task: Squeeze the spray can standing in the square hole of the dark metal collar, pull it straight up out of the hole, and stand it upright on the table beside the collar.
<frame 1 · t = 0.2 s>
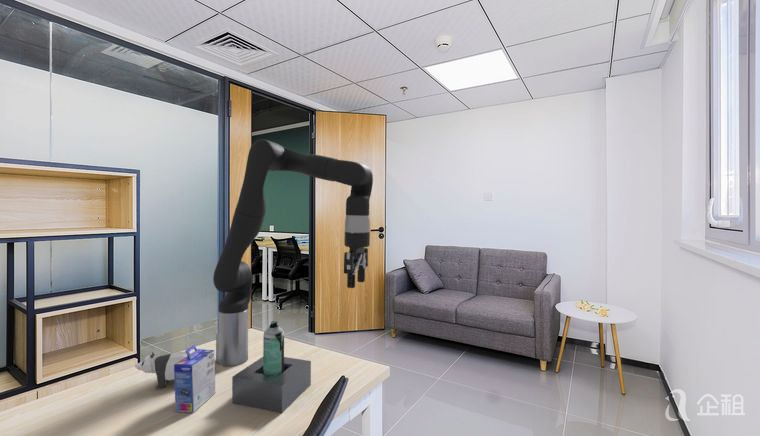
hand: (356, 284, 103), 29 cm above the table, tool pointing down, fingers open, 8 cm apart
spray can: (273, 394, 96), resting in square collar
giant panda: (168, 384, 100), on the table
ink cartridge box: (195, 402, 91), on the table
square collar: (273, 393, 96), on the table
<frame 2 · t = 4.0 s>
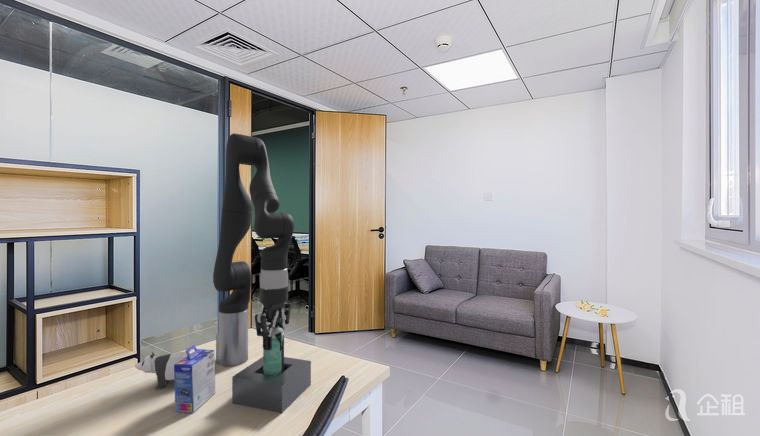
hand: (273, 345, 96), 13 cm above the table, tool pointing down, fingers closed on spray can, 5 cm apart
spray can: (273, 394, 96), resting in square collar, touching gripper
everything else where it was.
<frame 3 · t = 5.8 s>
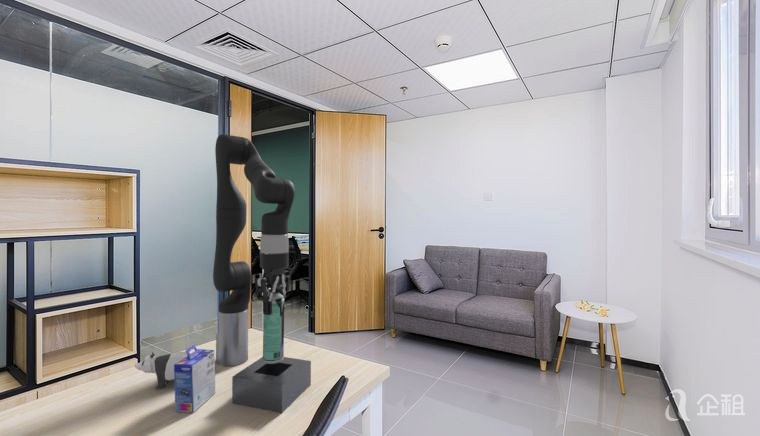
hand: (273, 311, 95), 23 cm above the table, tool pointing down, fingers closed on spray can, 5 cm apart
spray can: (273, 360, 96), point 9 cm above the table, touching gripper
everything else where it was.
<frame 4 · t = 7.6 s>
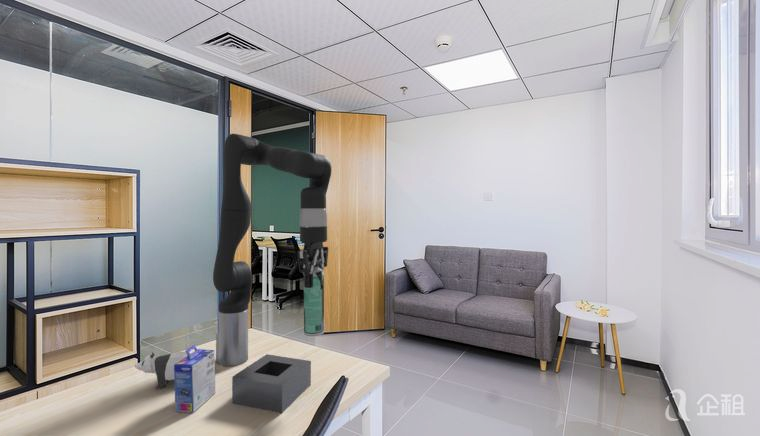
hand: (313, 285, 96), 30 cm above the table, tool pointing down, fingers closed on spray can, 5 cm apart
spray can: (314, 333, 97), point 16 cm above the table, touching gripper
everything else where it was.
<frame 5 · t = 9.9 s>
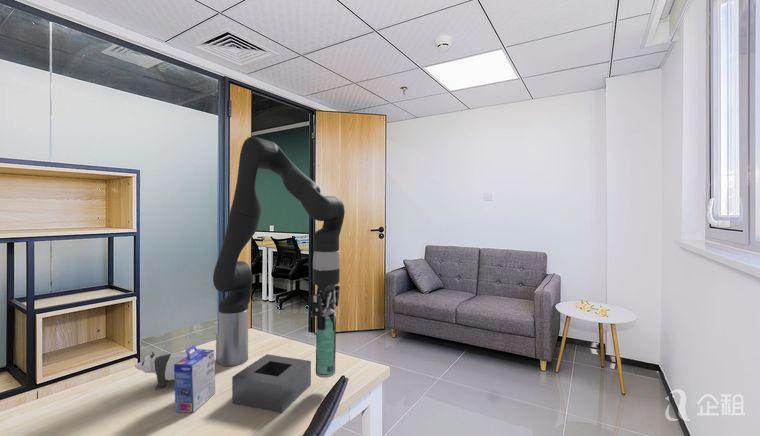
hand: (325, 326, 98), 18 cm above the table, tool pointing down, fingers closed on spray can, 5 cm apart
spray can: (325, 373, 98), point 5 cm above the table, touching gripper
everything else where it was.
when the fingers open (14 cm above the table, at t = 11.7 s): spray can stays where it is, on the table.
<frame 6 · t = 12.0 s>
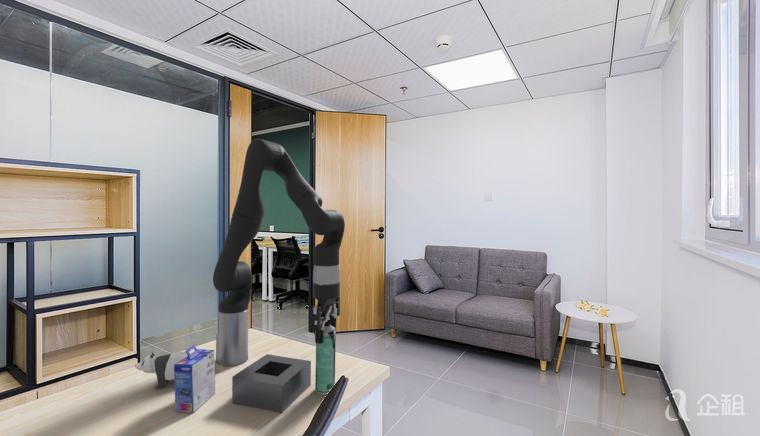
hand: (326, 337, 98), 15 cm above the table, tool pointing down, fingers open, 8 cm apart
spray can: (325, 390, 98), on the table
everything else where it was.
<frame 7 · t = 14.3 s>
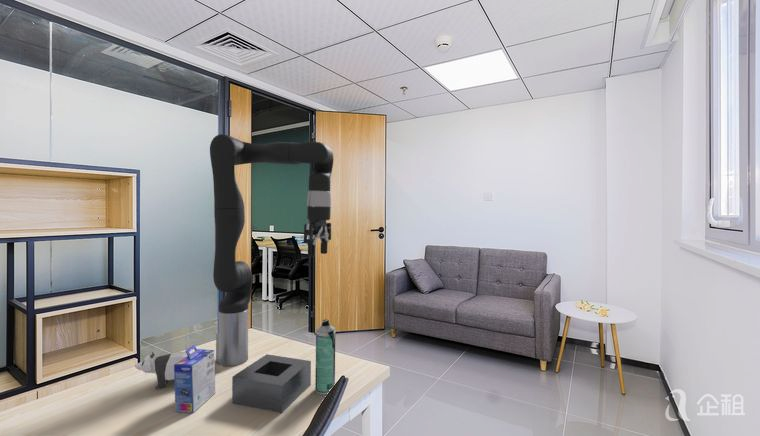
hand: (317, 255, 112), 37 cm above the table, tool pointing down, fingers open, 8 cm apart
nothing on the table moved.
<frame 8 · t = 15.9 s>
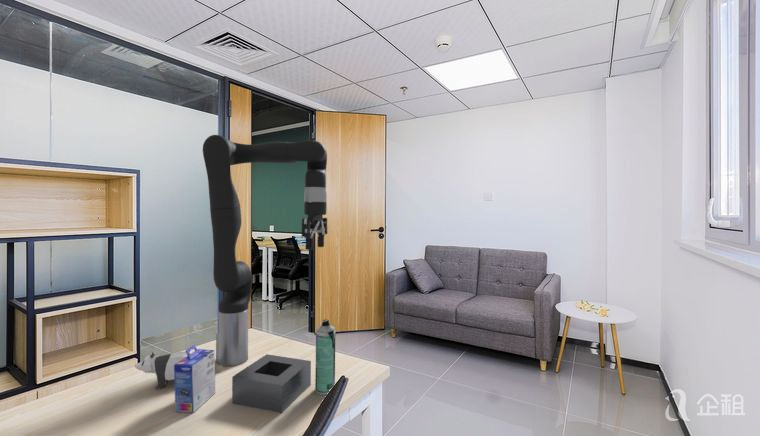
hand: (315, 248, 118), 38 cm above the table, tool pointing down, fingers open, 8 cm apart
nothing on the table moved.
at the end: spray can inside the target area (0.1 cm from its centre), on the table; spray can tilted 0°; the gripper is holding nothing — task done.
